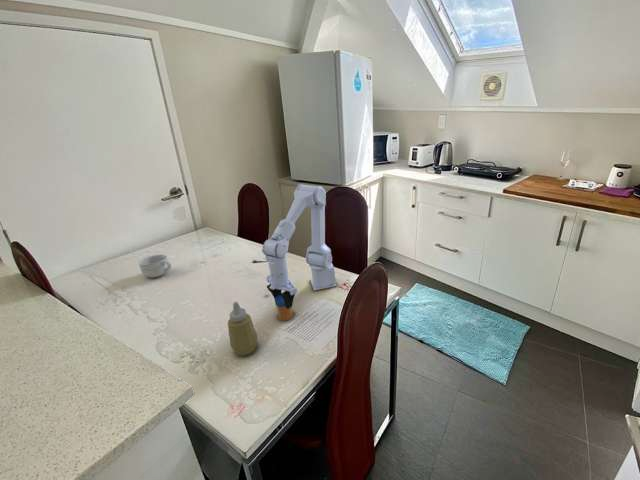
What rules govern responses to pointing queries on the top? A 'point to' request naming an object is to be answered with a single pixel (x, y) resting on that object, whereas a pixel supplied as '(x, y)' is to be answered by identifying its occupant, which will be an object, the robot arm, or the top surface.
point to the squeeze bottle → (241, 331)
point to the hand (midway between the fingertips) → (283, 304)
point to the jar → (284, 313)
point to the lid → (279, 301)
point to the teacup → (154, 265)
